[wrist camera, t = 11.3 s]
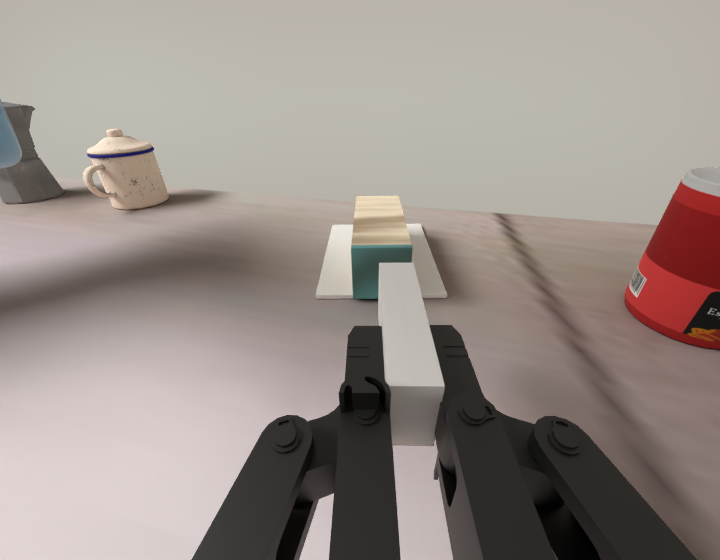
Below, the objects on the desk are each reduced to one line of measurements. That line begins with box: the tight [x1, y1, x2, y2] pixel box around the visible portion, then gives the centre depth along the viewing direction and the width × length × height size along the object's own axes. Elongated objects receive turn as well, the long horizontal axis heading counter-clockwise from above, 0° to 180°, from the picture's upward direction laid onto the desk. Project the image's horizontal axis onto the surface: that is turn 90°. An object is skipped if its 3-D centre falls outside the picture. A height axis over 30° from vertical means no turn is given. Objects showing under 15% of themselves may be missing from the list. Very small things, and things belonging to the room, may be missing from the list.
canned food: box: [625, 167, 720, 349], centre depth 23 cm, size 8×8×11 cm
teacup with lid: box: [83, 129, 169, 210], centre depth 51 cm, size 12×9×12 cm
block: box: [351, 196, 413, 299], centre depth 33 cm, size 5×5×14 cm
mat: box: [315, 224, 447, 299], centre depth 36 cm, size 17×12×1 cm
